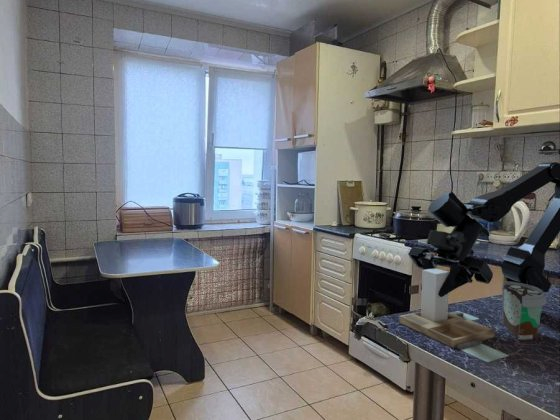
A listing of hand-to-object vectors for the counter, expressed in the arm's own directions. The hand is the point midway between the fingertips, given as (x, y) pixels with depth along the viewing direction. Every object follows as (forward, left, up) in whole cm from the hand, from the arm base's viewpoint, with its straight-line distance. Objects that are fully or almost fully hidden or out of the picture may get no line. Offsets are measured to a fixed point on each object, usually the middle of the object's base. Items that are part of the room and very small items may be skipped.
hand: (430, 293), depth 90 cm
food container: (-14, +13, -8) cm, 21 cm away
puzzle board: (-4, +7, -7) cm, 11 cm away
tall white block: (-1, 0, -6) cm, 6 cm away
